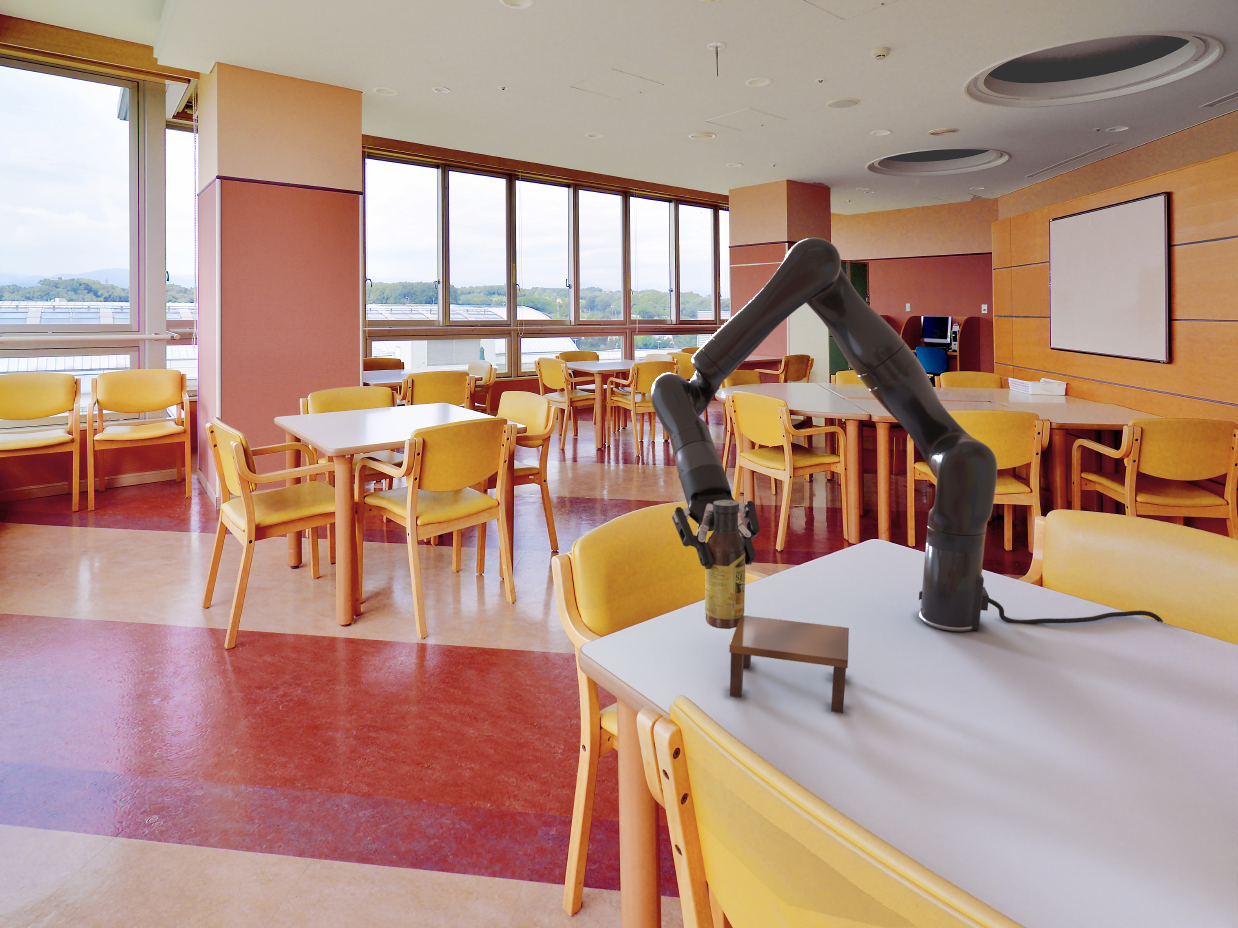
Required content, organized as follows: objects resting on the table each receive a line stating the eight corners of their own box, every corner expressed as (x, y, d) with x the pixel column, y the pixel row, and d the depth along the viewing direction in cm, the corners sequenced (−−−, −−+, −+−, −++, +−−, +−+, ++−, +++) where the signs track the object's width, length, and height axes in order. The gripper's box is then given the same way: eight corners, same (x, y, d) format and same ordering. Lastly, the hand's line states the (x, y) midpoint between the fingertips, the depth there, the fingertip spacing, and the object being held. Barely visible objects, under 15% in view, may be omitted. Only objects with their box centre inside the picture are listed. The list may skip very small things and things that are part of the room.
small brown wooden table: (845, 676, 110) (848, 627, 109) (844, 714, 100) (848, 660, 98) (739, 662, 115) (741, 614, 113) (728, 696, 105) (729, 644, 103)
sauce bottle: (743, 632, 114) (746, 509, 109) (703, 629, 115) (704, 507, 111) (744, 615, 120) (747, 498, 116) (706, 612, 121) (707, 496, 117)
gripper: (666, 465, 117) (694, 558, 109) (748, 459, 121) (781, 549, 113) (656, 490, 123) (680, 580, 115) (734, 483, 127) (763, 570, 119)
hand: (730, 564), depth 114 cm, fingers closed on sauce bottle, 6 cm apart
